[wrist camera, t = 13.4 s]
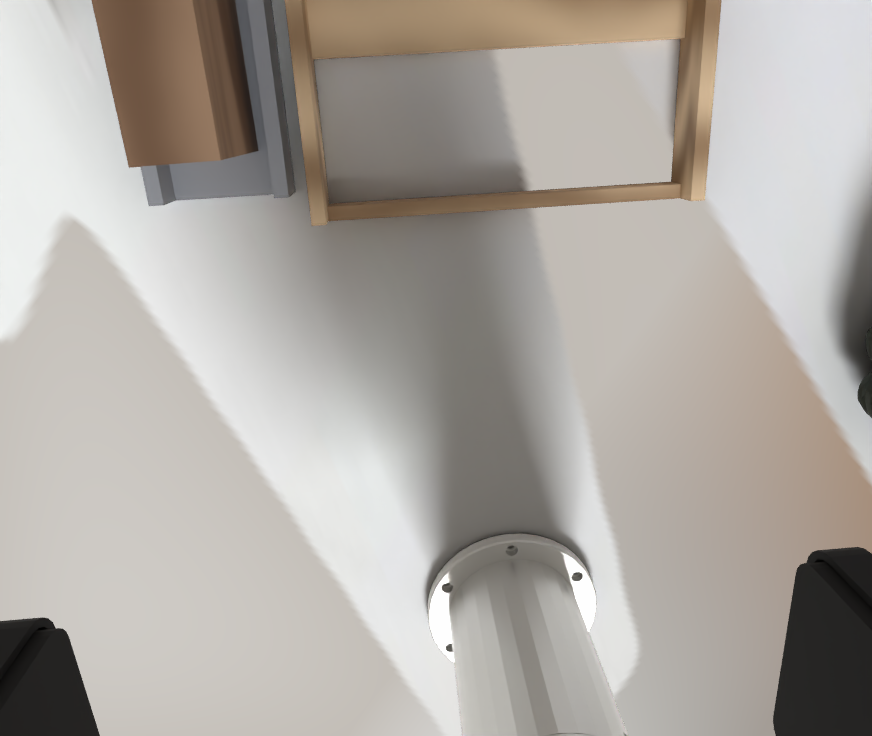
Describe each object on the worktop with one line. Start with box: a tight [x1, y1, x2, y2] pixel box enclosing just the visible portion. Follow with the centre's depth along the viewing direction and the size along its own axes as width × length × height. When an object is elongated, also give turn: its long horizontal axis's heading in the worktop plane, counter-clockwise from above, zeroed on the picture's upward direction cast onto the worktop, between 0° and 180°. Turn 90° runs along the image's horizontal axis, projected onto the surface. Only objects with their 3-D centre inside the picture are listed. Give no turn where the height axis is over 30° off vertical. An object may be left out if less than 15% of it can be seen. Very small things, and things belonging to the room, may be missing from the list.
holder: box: [141, 0, 295, 206], centre depth 35 cm, size 17×8×3 cm, turn 3°
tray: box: [285, 0, 721, 226], centre depth 36 cm, size 18×22×3 cm
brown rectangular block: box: [92, 0, 259, 167], centre depth 32 cm, size 4×12×9 cm, turn 4°
